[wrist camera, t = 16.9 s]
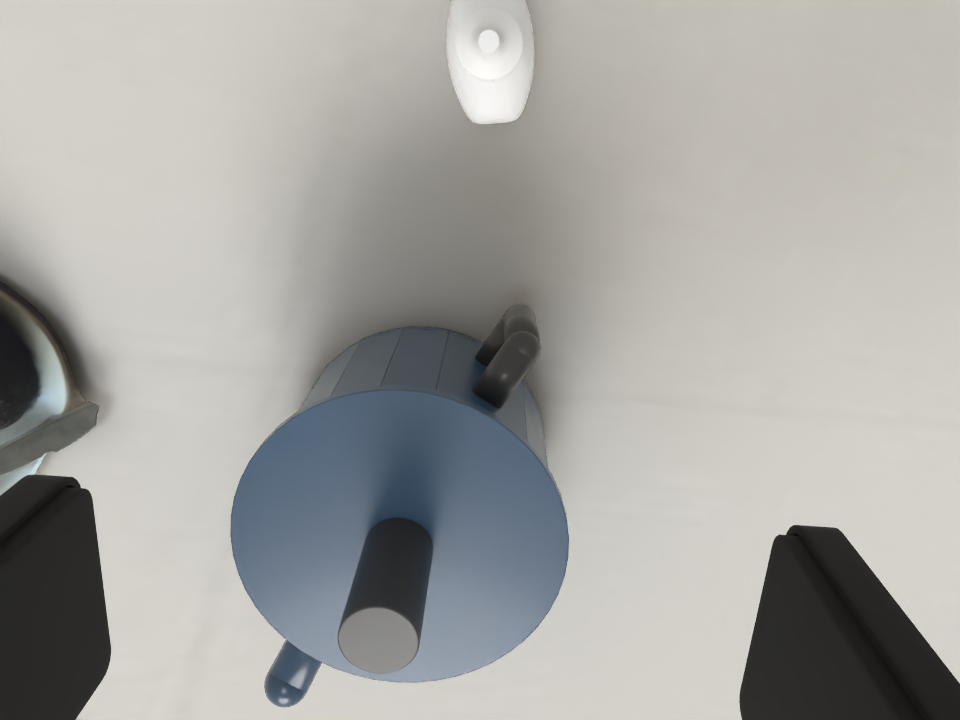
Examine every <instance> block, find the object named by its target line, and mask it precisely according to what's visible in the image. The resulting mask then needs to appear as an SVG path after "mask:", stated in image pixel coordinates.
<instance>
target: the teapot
mask: <svg viewBox="0 0 960 720" xmlns="http://www.w3.org/2000/svg"><path fill="white" fill-rule="evenodd" d="M482 346H483V343H481V342H479V341H478V340H476V339H473V338H471V337H468V336H466V335H463V334H461V333H458V332H454V331H450V330H446V329H440V328H433V327H405V328H397V329H392V330H388V331H384V332H380V333H377V334H375V335H372V336H370V337H367V338H365V339H363V340H361V341H359V342H357V343H356V344H354V345H352V346H350V347H349V348H348V349H346V350H345V351H344V352H343V353H341V354H340V355H339V356H338V357H337V358H336V359H335V360H333V361H332V362H331V363H329V364H328V365H327V366H326V368H325V369H324V371H323V373H322V374H321V376H320V377H319V379H318V380H317V382H316V384H315V385H314V387H313V388H312V390H311V392H310V393H309V395H308V396H307V398H306V399H305V401H304V403H303V404H302V406H301V407H300V409H299V411H300V410H302V409H303V408H305V407H307V406H309V405H311V404H312V403H314V402H316V401H319V400H321V399H324V398H326V397H329V396H331V395H334V394H336V393H340V392H344V391H348V390H352V389H356V388H362V387H371V386H379V385H407V386H415V387H423V388H430V389H433V390H437V391H441V392H445V393H449V394H453V395H455V396H458V397H460V398H463V399H466V400H468V401H471V402H473V403H475V404H477V405H479V406H481V407H483V408H484V409H486V410H488V411H490V412H492V413H494V414H495V415H497V416H498V417H499V418H501V419H502V420H504V421H505V422H506V423H508V424H509V425H511V426H512V427H513V428H514V429H515V430H516V431H517V432H518V433H519V434H521V435H522V436H523V437H524V438H525V439H526V440H527V441H528V442H529V443H530V444H531V446H532V447H533V448H534V449H535V450H536V452H537V453H538V454H539V455H540V457H541V458H542V459H543V461H544V463H545V464H546V466H547V467H548V464H547V457H546V449H545V441H544V433H543V426H542V418H541V413H540V411H539V409H538V407H537V405H536V402H535V400H534V398H533V395H532V393H531V391H530V389H529V388H528V386H527V384H526V383H525V381H524V379H522V380H521V382H520V383H519V384H518V386H517V387H516V389H515V390H514V391H513V393H512V394H511V395H510V397H509V398H508V399H507V401H506V402H505V404H504V405H503V406H502V408H501V409H499V408H496V407H494V406H493V405H491V404H490V403H488V402H487V401H485V400H483V399H481V398H480V397H478V396H477V395H476V394H475V393H474V392H473V390H472V387H473V386H474V385H475V383H476V382H477V380H478V379H479V378H480V376H481V375H482V373H483V372H484V371H485V369H486V368H487V366H485V365H483V364H481V363H480V362H479V361H478V360H477V359H476V358H475V355H476V354H477V353H478V351H479V350H480V348H481V347H482Z"/></svg>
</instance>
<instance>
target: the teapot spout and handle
mask: <svg viewBox="0 0 960 720" xmlns="http://www.w3.org/2000/svg"><path fill="white" fill-rule="evenodd" d="M540 350H541V346H540V340H539V333H538V327H537V321H536V316H535V313H534V311H533V310H532V309H531V308H530V307H529V306H527V305H524V304H516V305H513V306H511V307H510V308H509V309H508V310H507V311H506V313H505V314H504V316H503V317H502V318H501V320H500V321H499V323H498V324H497V326H496V327H495V328H494V330H493V331H492V333H491V334H490V336H489V337H488V338H487V340H486V341H485V343H484V344H483V346H482V347H481V348H480V350H479V351H478V353H477V354H476V355H475V358H476V359H477V360H478V361H479V362H480V363H481V364H483V365H485V366H487V368H486V369H485V371H484V372H483V373H482V375H481V376H480V378H479V379H478V380H477V382H476V383H475V385H474V386H473V387H472V390H473V392H474V393H475V394H476V395H477V396H478V397H480V398H481V399H483V400H485V401H487V402H488V403H490V404H491V405H493V406H494V407H496V408H499V409H501V408H502V406H503V405H504V404H505V402H506V401H507V399H508V398H509V397H510V395H511V394H512V393H513V391H514V390H515V389H516V387H517V386H518V384H519V383H520V382H521V380H522V379H523V378H524V376H525V375H526V374H527V372H528V371H529V370H530V368H531V367H532V365H533V364H534V363H535V361H536V360H537V359H538V357H539V355H540ZM321 664H322V662H320V661H318V660H316V659H314V658H313V657H311V656H309V655H308V654H306V653H304V652H303V651H301V650H299V649H298V648H297V647H295V646H294V645H293V644H292V643H290V642H289V641H288V640H286V641H285V643H284V644H283V646H282V648H281V650H280V652H279V654H278V655H277V657H276V659H275V661H274V663H273V664H272V666H271V668H270V670H269V672H268V674H267V676H266V679H265V685H264V688H265V693H266V696H267V697H268V699H269V700H270V701H271V702H272V703H273V704H275V705H277V706H279V707H290V706H293V705H295V704H297V703H298V702H300V701H301V700H302V699H303V698H304V696H305V694H306V693H307V691H308V689H309V687H310V685H311V683H312V681H313V679H314V677H315V675H316V673H317V671H318V670H319V668H320V666H321Z"/></svg>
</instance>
